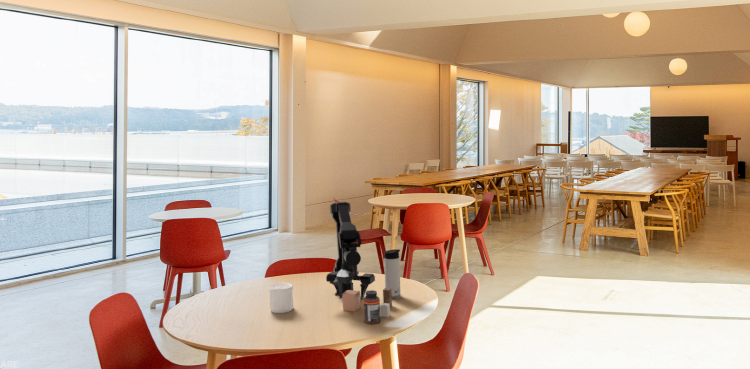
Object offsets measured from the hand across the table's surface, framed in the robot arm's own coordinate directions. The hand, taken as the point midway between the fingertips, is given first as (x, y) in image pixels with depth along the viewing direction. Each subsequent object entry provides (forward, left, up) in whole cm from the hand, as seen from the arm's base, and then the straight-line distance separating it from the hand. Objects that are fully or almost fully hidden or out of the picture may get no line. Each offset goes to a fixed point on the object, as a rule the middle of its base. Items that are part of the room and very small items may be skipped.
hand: (351, 298), depth 229 cm
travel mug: (+11, +19, -4) cm, 22 cm away
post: (+13, +6, -4) cm, 15 cm away
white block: (+16, -5, -4) cm, 17 cm away
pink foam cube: (0, 0, -4) cm, 4 cm away
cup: (-27, -8, -4) cm, 28 cm away
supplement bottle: (+13, -12, -4) cm, 19 cm away
